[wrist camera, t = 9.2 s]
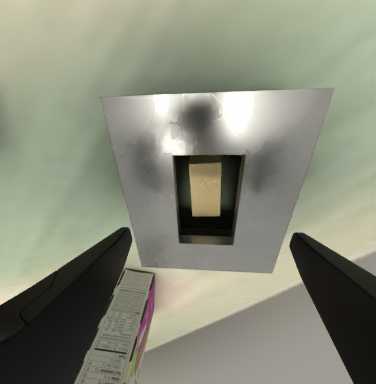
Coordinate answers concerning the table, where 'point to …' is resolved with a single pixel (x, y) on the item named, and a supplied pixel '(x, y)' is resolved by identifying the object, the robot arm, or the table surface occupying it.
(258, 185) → the money box
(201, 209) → the tan wooden post
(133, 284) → the candy bar box
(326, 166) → the table surface
